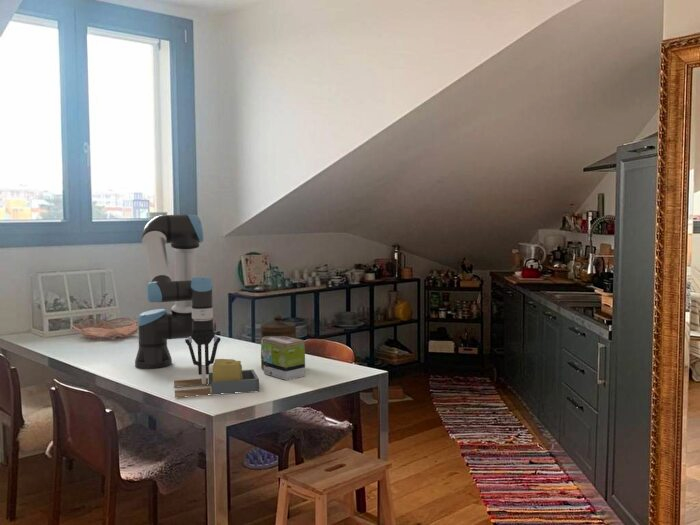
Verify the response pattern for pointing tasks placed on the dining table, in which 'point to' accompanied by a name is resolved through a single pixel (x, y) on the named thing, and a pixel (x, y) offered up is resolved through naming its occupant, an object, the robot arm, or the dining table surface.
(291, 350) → the tea box
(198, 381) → the lane rails
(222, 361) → the cheese
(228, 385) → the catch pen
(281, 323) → the wooden container
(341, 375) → the dining table surface
